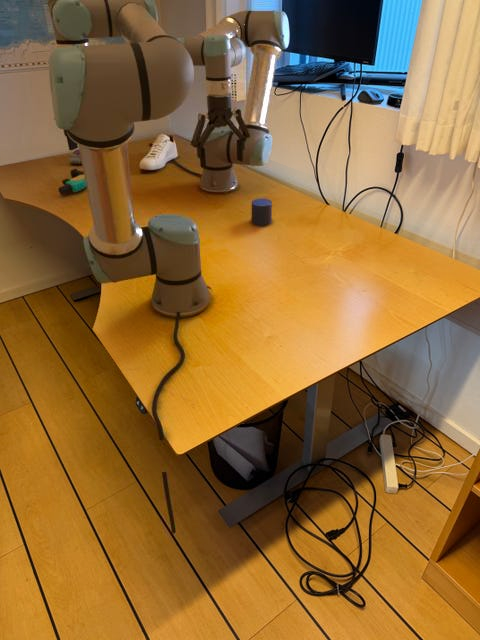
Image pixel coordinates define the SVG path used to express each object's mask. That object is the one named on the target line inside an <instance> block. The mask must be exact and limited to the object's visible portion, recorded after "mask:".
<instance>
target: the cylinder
mask: <svg viewBox="0 0 480 640" xmlns="http://www.w3.org/2000/svg"><path fill="white" fill-rule="evenodd" d="M272 214H273V201H272V200H271V199H268V198H255V199H253V200H252V201H251V224H252V225H254V226H256V227H267V226H269V225H271V224H272V216H273V215H272Z"/></svg>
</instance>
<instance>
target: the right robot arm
mask: <svg viewBox="0 0 480 640" xmlns="http://www.w3.org/2000/svg"><path fill="white" fill-rule="evenodd" d="M244 24H245V25H244ZM239 26H240V27H239ZM176 39H177V40H178V41H179V42H181V44H182V45H183V46H184V47H185V48H186V50H187V51H188V53H189V55H190V57H191V59H192V62H193V67H199V66H200V67H204V69H205V90H206V94H207V96H206V107H207V113H201V112H199V113H198V116H197V123H196V126H195V128H194V131H193V134H192V138H191V141H190V146H192V147H193V148H196V156H197V158H198V159H199V164H200V168H201V169H203V170H202V173H199V172H195V171H193V170H190V169H188V168H187V167H185V166H183V165H182V164H180V163H179V162H178V161H177V160H175V158H174V159H172V160H171V161H172V162H173V163H174V164H176V165H177V166H178V167H180V168H181V169H183V170H184V171H186V172H188V173H190V174H193V175H196V176H199V177H201V178H200V181H199V188H200V190H201V191H202V192H205V193H207V194H212V195H213V194H214V195H223V194H230V193H231V192H234V191H236V190H237V189H238V186H239V184H238V180H237V176H236V174H235V170H234V167H233V166H234V165H240V166H241V165H243V166H251V167H262V166H264V165H266V164H267V162H268V160H269V159H270V156H271V153H272V149H273V136H272V135H271V134H270V129H269V127H268V126H267V122H268V116H269V115H268V114H269V110H270V103H271V95H272V90H273V85H274V84H273V83H274V78H275V72H276V67H277V66H276V65H277V60H278V59H279V58H280V57H281V56H282V55H283V50H286V49H287V48H288V47H289V45H290V24H289V19H288V16H287V14H286V12H285V11H281V10H276V9H275V10H274V9H273V10H248V9H247V10H242V11H238V12H235V13H233V14H230V15H228V16H225V17H223V18H221V19H220V20H219V21H218V23H217V24H216V25H215V26H211V27H210V28H207V29H206V30H203V31H202V32H200V33H198V34H196V35H194V36H191V37H178V38H176ZM246 48H250V52H251V53H252V56H253V58H252V62H251V63H252V64H251V71H250V77H249V83H248V90H247V91H248V92H247V96H246V104H245V109H244V110H245V111H244V117H242V116H243V115H242V110H241V109H240V108H237V107H234V108H233V109H232V106H233V103H232V95H231V93H232V68H233V67H236V66H238V65H240V64H241V63H242V62H243V61H244V60H245V58H246V55H247V54H246ZM232 117H234V118H235V120H236V122H237V124H238V126H236V125H235V123H234V122H233V120H232ZM207 120H208V122H207ZM206 122H207V124H206ZM205 124H206V126H205ZM148 144H149V146H151V147H152V146H153V144H154V143H151V142H149V143H148Z"/></svg>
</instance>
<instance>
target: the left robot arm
mask: <svg viewBox="0 0 480 640" xmlns="http://www.w3.org/2000/svg"><path fill="white" fill-rule="evenodd" d="M46 1H47V3H46V4H47V6H48V10H49V15H50V20H51V24H52V28H53V29H52V30H53V32H54V37H55V43H56V48H55V49H53V50H52V51H51V52H50V54H49V57H48V77H49V88H50V93H51V94H50V95H51V103H52V110H53V116H54V117H53V118H54V121H55V125H56V127H57V128H58V129H60V130H63V135H64V136H65V137H66V141H67V146H68V150H69V151H75V150H77V149H79V150H80V156H81V161H82V164H81V165H82V172H83V171H84V176H85V181H86V192H87V196H88V202H89V206H90V212H91V218H92V223H93V224H92V225H91V227H90V229H89V233H88V235H86V236H85V237H83V240H82V241H83V246H84V251H85V254H86V258H87V261H88V263H89V267H90V270H91V272H92V274H93V276H94V279H95V280H96V281H97V282H98V283H100V284H110V283H112V284H116V283H118V282H124V281H129V280H134V279H139V278H143V277H148V276H153V275H154V276H155V281H154V284H153V290H152V294H151V305H152V308H153V310H154V311H155V312H156V313H157V314H159V315H160V316H163V317H167V318H171V319H175V322H174V329H173V342H174V344H175V345H176V347H177V349H178V351H179V352H180V359H179V360H178V362H177V363H176V365H174V366H173V368H171V369H170V370H169V371H168V372H167V373H166V374H165V375H164V376H163V377H162V379H161V381H160V382H159V384H158V386H157V388H156V390H155V391H154V396H153V399H152V404H151V413H152V416H153V419H154V422H155V424H156V428H157V433H158V439H159V441H163V440H165V435H164V434H165V433H164V430H163V425H162V422H161V420H160V418H159V415H158V411H157V410H158V409H157V408H158V407H157V405H158V400H159V396H160V393H161V391H162V390H163V387H164V386H165V384H166V382H167V380H169V378H170V377H171V376H172V375H173V374H174V373H175V372H176V371H178V370H179V369H180V368H181V366H182V365H183V363H184V362H185V359H186V353H185V350H184V347H182V345H181V343H180V342H179V339H178V331H179V326H180V319H183V318H185V319H186V318H190V317H194V316H196V315H199V314H201V313H202V312H204V311H205V310H207V308H208V307H209V306H210V303H211V294H210V290H211V291H213V289H212V287H211V286H208V285H207V284H206V281H205V278H204V277H203V275H202V262H201V261H202V259H201V247H200V243H201V238H200V234H199V228H198V225H197V224H196V222H195V221H194V220H192V219H191V218H189V217H187V216H184V215H180V214H175V213H162V214H157V215H154V216H152V217H150V218H149V219H148V221H147V225H146V226H141V225H140V224H139V223H138V222H137V221H136V220H135V215H134V204H133V203H134V202H133V194H132V183H131V182H132V181H131V172H130V161H129V150H128V149H129V148H128V143H129V141H130V140H131V139H132V137H133V136H134V133H135V123H138V122H139V123H140V122H147V121H155V120H159V119H162V118H166V117H167V116H169V115H171V114H173V113H174V112H175V111H176V110H178V108H180V107H181V106H182V105H183V104H184V102H185V101H186V99H187V98H188V96H189V95H190V93H191V90H192V87H193V84H194V83H193V82H194V79H195V77H194V76H195V69H194V66H193V62H192V59H191V57H190V55H189V53H188V51H187V50H186V48H185V47H184V46H183V45H182V44H181V42H179V41H178V40H177V38H176V37H174V36H172V35H169V34H167V32H165V31H164V29H163V28H162V27H161V26H160V24H159V18H158V9H157V6H156V2H155V0H46ZM121 37H122V38H123V40H124V42H125V43H112V44H111V43H110V44H109V43H108V44H91V45H90V40H89V39H100V38H121ZM161 475H162V482H163V483H162V484H163V490H164V496H165V502H166V507H167V512H168V518H169V523H170V530H171V533H172V534H176V532H177V529H176V524H175V518H174V511H173V506H172V501H171V496H170V495H171V494H170V487H169V481H168V473H167V471H161Z"/></svg>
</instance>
